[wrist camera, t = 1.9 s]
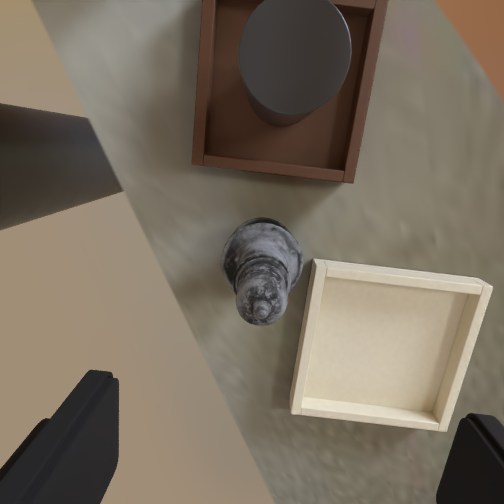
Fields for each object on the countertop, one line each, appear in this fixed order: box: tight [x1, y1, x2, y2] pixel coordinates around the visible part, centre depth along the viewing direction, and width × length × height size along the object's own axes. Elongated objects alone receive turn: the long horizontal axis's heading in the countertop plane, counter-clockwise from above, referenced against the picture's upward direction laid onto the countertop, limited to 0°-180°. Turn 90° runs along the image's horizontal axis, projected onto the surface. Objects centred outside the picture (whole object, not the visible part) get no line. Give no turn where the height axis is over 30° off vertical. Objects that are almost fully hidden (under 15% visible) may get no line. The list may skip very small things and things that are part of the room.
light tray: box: [289, 259, 493, 432], centre depth 30 cm, size 14×14×2 cm
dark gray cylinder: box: [238, 0, 352, 127], centre depth 21 cm, size 5×5×10 cm
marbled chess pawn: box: [221, 218, 303, 326], centre depth 24 cm, size 6×6×12 cm
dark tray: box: [192, 0, 388, 183], centre depth 25 cm, size 12×12×2 cm
